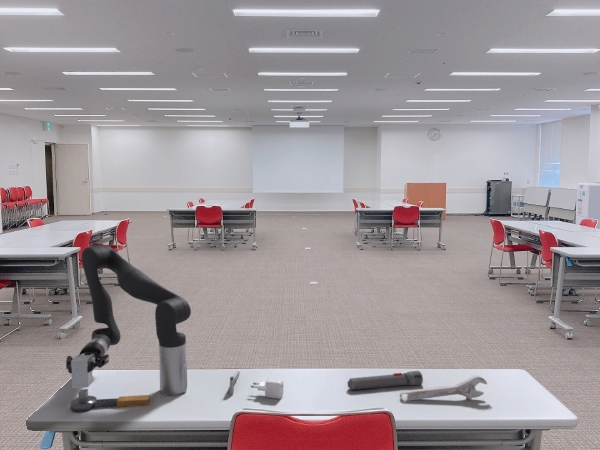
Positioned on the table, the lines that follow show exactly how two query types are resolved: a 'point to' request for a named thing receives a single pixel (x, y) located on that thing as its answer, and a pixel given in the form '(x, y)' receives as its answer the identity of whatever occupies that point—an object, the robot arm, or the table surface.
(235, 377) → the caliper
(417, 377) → the flashlight
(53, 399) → the table surface
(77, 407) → the ratchet
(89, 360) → the brushed metal block
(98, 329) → the robot arm
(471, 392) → the wrench
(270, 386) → the power adapter
